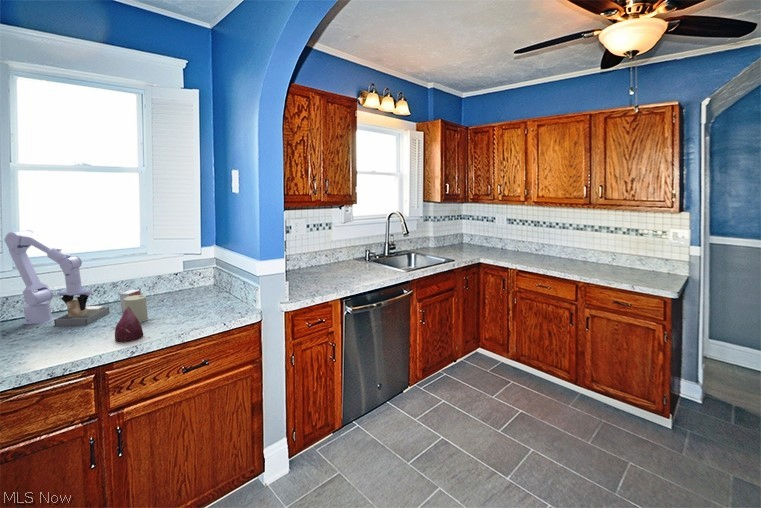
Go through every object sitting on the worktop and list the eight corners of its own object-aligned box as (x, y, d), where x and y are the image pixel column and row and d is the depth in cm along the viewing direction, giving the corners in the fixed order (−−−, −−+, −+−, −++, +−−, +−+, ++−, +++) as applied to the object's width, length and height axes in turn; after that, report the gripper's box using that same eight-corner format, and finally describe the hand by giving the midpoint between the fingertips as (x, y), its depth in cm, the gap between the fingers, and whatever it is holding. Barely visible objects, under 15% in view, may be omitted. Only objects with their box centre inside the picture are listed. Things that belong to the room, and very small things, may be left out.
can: (151, 320, 194) (148, 296, 192) (129, 325, 187) (126, 300, 185) (144, 315, 200) (142, 292, 198) (123, 320, 194) (121, 296, 191)
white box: (76, 317, 196) (75, 309, 195) (82, 314, 201) (81, 306, 200) (98, 316, 197) (97, 308, 196) (104, 313, 201) (103, 306, 201)
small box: (130, 313, 203) (128, 293, 201) (121, 313, 204) (119, 293, 202) (142, 309, 211) (140, 289, 209) (133, 308, 212) (131, 289, 210)
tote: (55, 327, 184) (54, 319, 184) (80, 314, 202) (79, 307, 201) (87, 326, 185) (86, 319, 185) (109, 313, 203) (108, 307, 202)
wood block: (68, 316, 186) (66, 302, 185) (77, 312, 192) (75, 298, 191) (78, 316, 187) (76, 302, 185) (86, 312, 193) (85, 298, 191)
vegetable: (124, 341, 176) (120, 307, 177) (148, 337, 177) (144, 304, 178) (109, 344, 166) (105, 309, 167) (135, 341, 167) (131, 305, 168)
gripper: (50, 284, 182) (55, 313, 185) (84, 284, 183) (88, 312, 186) (61, 281, 189) (65, 308, 191) (93, 280, 190) (97, 307, 193)
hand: (77, 310), depth 189 cm, fingers closed on wood block, 4 cm apart
